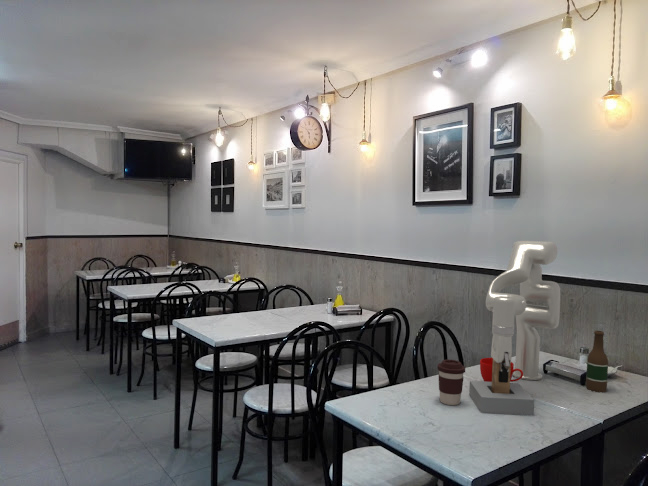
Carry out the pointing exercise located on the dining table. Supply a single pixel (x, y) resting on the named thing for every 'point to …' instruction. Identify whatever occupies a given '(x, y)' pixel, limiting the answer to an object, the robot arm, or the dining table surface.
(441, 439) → the dining table surface
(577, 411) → the dining table surface
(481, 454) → the dining table surface
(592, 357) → the beer bottle
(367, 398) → the dining table surface
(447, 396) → the coffee cup
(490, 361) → the ceramic cup
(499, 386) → the brown rectangular block
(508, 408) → the well block
